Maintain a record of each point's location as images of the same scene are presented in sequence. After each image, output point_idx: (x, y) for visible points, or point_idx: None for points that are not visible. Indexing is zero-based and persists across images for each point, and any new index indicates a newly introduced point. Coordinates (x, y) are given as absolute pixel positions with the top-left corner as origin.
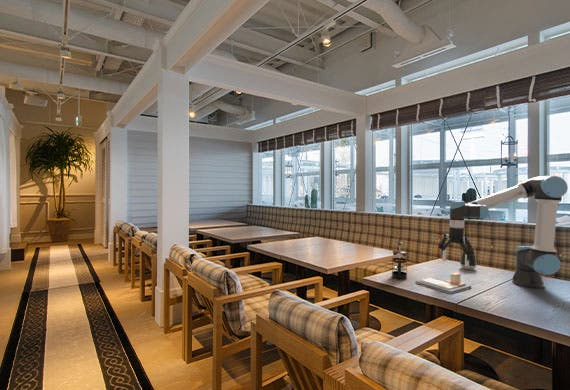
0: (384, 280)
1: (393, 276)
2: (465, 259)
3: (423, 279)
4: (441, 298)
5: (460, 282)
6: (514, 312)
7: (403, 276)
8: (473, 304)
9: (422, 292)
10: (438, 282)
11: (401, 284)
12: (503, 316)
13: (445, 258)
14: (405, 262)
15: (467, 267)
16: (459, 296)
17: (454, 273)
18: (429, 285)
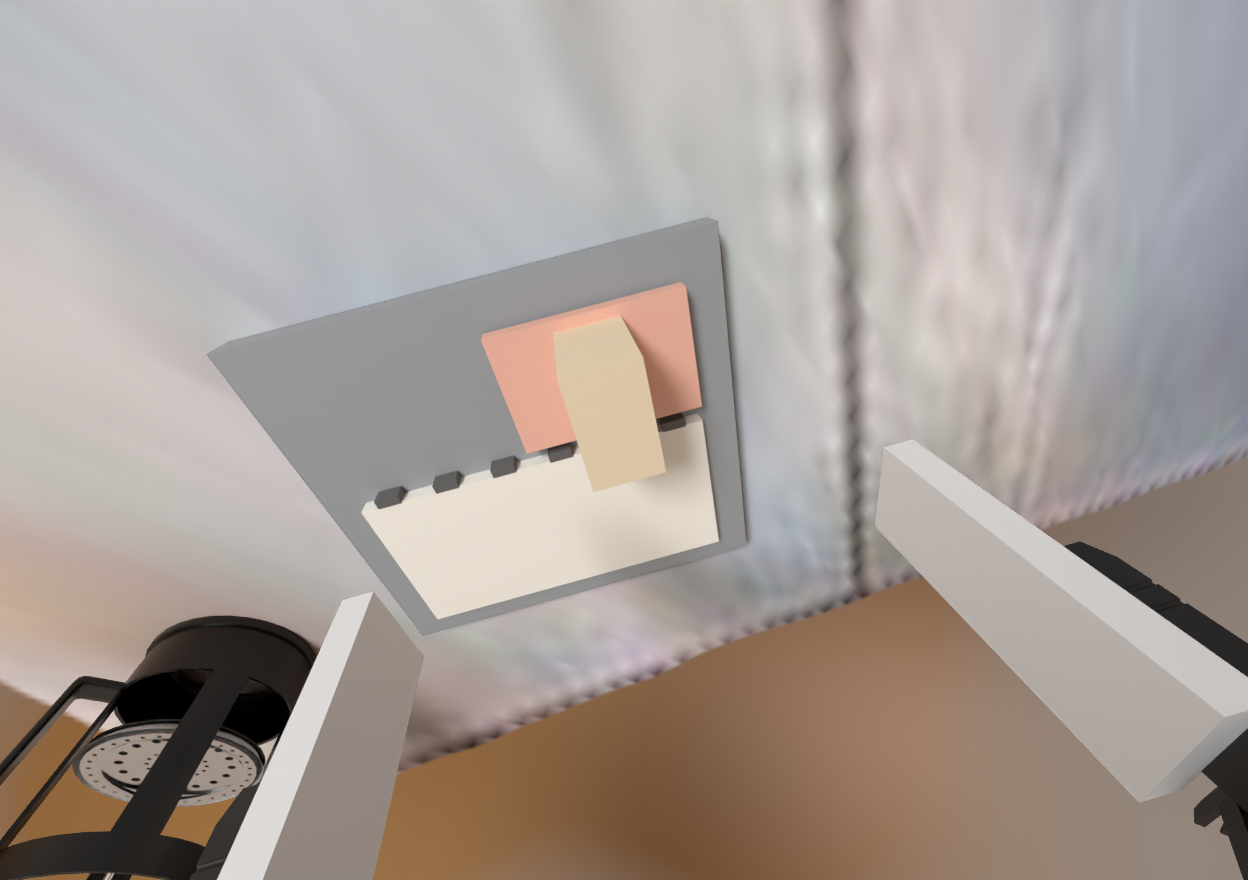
0: None
1: (256, 718)
2: (1005, 648)
3: (423, 596)
4: (764, 616)
5: (634, 327)
6: (1155, 396)
7: (298, 687)
8: None
9: (635, 655)
10: (548, 531)
11: (442, 696)
12: (1101, 500)
13: (370, 667)
14: (200, 852)
15: None
16: (800, 506)
17: (606, 440)
18: (558, 594)
